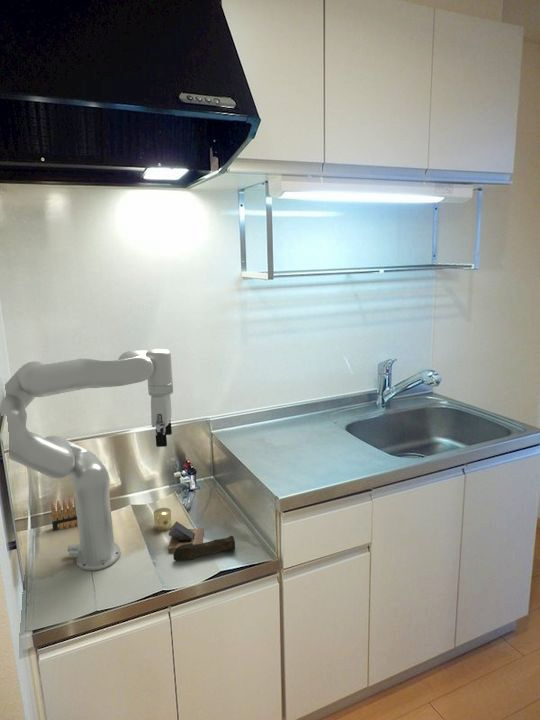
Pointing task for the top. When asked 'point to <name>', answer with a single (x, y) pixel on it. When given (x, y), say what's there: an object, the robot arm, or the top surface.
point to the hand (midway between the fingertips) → (164, 440)
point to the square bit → (181, 533)
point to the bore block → (197, 540)
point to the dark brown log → (203, 548)
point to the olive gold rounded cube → (162, 519)
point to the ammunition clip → (63, 515)
